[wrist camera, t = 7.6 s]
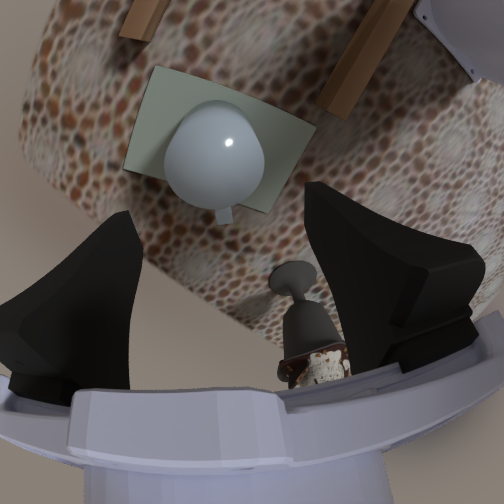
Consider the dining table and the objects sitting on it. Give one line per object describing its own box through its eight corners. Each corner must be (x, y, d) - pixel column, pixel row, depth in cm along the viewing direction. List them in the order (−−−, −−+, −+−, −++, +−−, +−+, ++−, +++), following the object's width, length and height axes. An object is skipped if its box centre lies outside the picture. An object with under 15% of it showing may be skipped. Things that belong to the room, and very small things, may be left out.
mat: (316, 126, 18) (317, 127, 18) (267, 212, 23) (268, 213, 23) (156, 65, 14) (155, 65, 14) (124, 167, 18) (123, 168, 18)
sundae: (329, 286, 30) (375, 414, 18) (272, 306, 31) (298, 438, 19) (318, 243, 25) (378, 396, 14) (251, 268, 26) (276, 427, 15)
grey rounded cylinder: (256, 184, 21) (269, 231, 16) (190, 194, 21) (184, 242, 16) (247, 95, 16) (260, 112, 12) (173, 107, 16) (154, 129, 12)
